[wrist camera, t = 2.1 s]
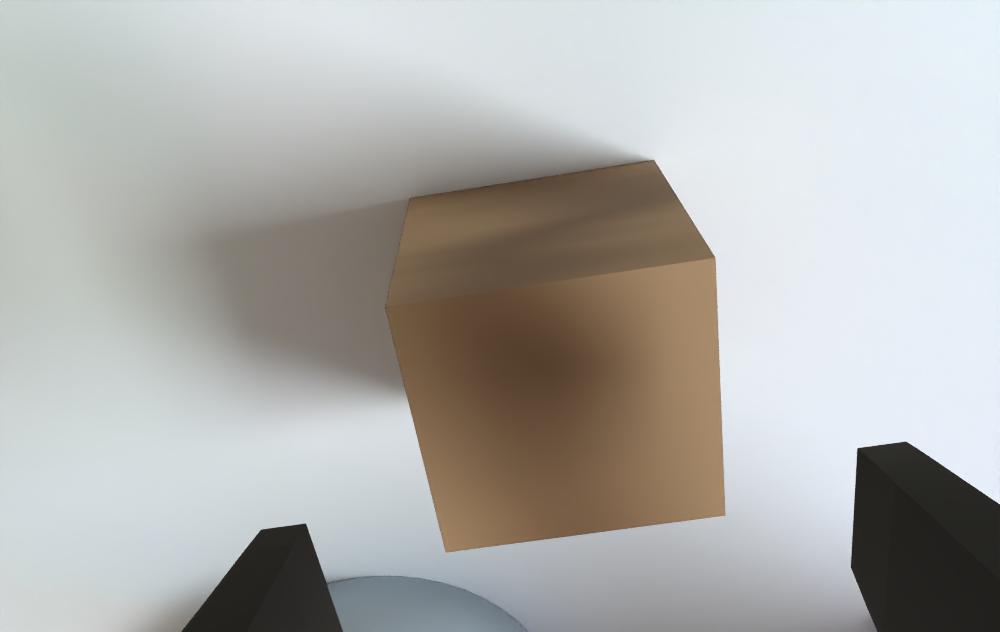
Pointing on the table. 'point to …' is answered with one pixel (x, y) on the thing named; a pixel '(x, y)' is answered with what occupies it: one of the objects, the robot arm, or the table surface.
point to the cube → (560, 356)
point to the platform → (414, 607)
